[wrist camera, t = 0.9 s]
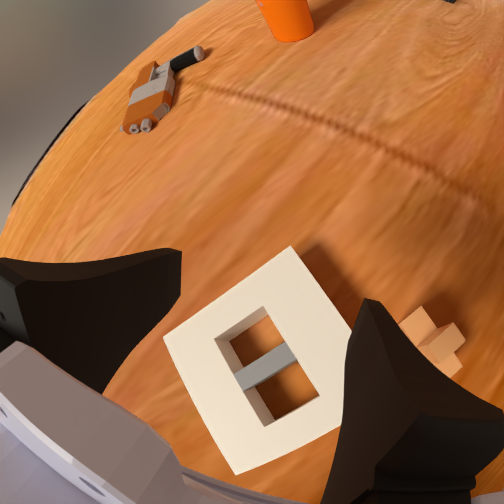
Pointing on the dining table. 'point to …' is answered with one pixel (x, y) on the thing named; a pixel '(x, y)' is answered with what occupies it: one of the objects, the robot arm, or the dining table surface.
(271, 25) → the shaker bottle
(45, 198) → the dining table surface
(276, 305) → the square window frame
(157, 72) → the toy gun
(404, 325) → the notched wooden block
